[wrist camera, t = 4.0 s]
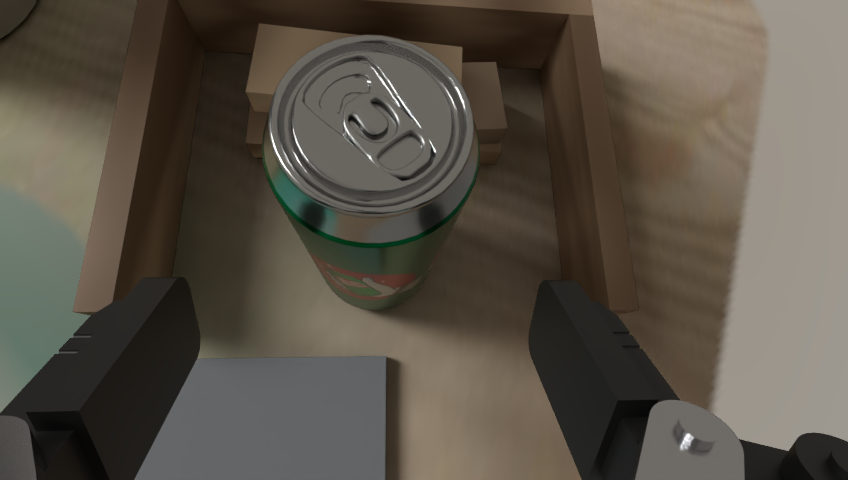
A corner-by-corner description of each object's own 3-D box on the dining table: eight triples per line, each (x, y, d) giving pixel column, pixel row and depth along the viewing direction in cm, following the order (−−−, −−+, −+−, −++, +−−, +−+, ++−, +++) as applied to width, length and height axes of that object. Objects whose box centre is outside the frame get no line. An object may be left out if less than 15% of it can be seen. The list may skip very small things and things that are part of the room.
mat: (76, 619, 16) (65, 629, 15) (121, 360, 18) (112, 359, 18) (383, 598, 17) (384, 606, 16) (385, 356, 19) (386, 356, 19)
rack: (134, 323, 19) (73, 311, 15) (184, 30, 23) (145, -37, 19) (591, 320, 21) (639, 309, 17) (558, 52, 25) (590, -5, 21)
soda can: (381, 187, 22) (386, -17, 10) (451, 263, 21) (539, 134, 9) (298, 252, 20) (196, 100, 9) (369, 335, 20) (357, 286, 8)
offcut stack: (253, 165, 21) (223, 118, 17) (261, 83, 23) (236, 21, 19) (494, 172, 22) (520, 129, 18) (489, 94, 24) (511, 38, 20)
